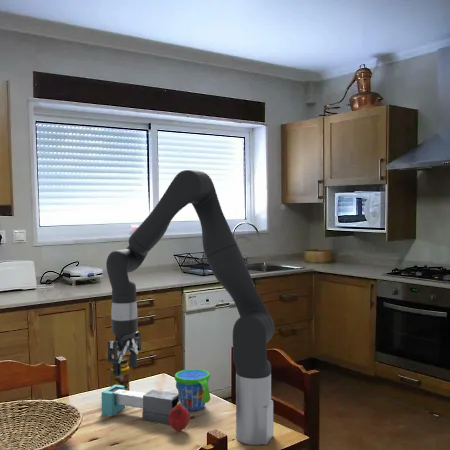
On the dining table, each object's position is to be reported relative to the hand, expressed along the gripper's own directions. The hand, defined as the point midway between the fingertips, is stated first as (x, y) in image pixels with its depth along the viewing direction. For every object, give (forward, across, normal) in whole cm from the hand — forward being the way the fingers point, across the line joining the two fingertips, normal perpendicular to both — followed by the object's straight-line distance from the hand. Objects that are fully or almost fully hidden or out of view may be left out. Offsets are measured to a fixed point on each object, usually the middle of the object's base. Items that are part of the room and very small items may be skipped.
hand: (125, 371), depth 150 cm
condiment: (+13, +12, +11) cm, 20 cm away
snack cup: (+13, +12, -16) cm, 24 cm away
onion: (+13, -6, -20) cm, 25 cm away
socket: (+12, 0, +4) cm, 13 cm away
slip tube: (+10, 0, -2) cm, 10 cm away
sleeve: (+13, 0, -12) cm, 17 cm away
